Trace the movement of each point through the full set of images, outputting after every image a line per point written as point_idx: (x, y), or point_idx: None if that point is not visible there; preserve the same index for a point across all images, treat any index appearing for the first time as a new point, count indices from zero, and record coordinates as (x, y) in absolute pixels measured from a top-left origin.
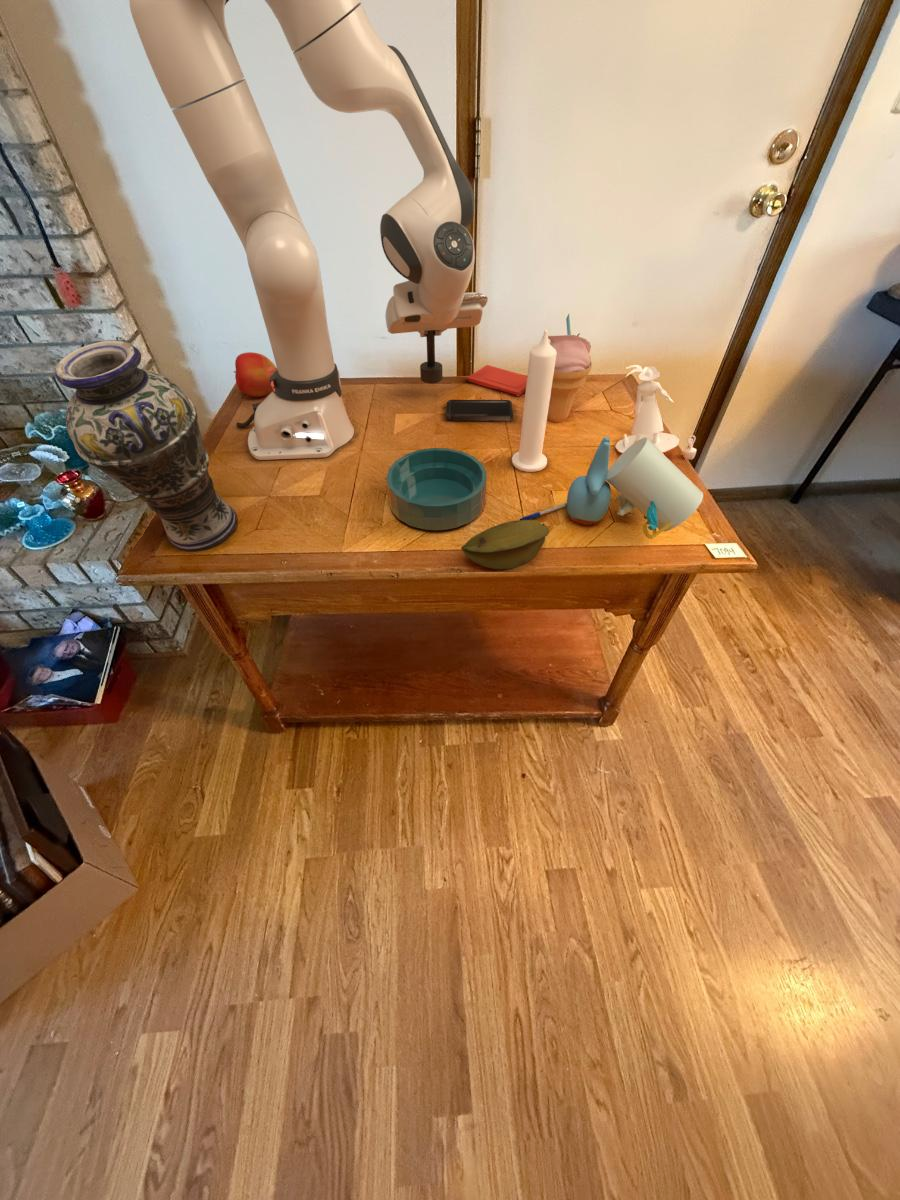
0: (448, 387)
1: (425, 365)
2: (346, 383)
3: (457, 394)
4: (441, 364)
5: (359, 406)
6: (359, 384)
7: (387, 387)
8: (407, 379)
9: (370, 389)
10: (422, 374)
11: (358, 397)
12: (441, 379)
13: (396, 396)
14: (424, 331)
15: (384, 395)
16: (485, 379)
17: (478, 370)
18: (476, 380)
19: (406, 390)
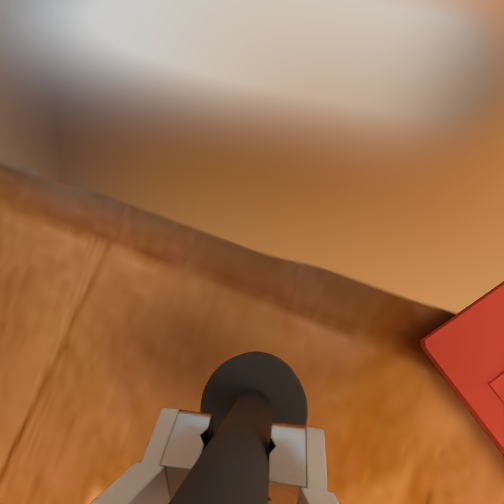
0: (334, 360)
1: (228, 395)
2: (34, 207)
3: (349, 429)
4: (305, 413)
5: (9, 377)
6: (66, 227)
7: (137, 279)
8: (217, 247)
9: (83, 273)
10: None
11: (30, 313)
12: None
13: (141, 355)
14: (174, 493)
15: (108, 332)
16: (491, 391)
17: (483, 300)
18: (452, 381)
19: (187, 324)
